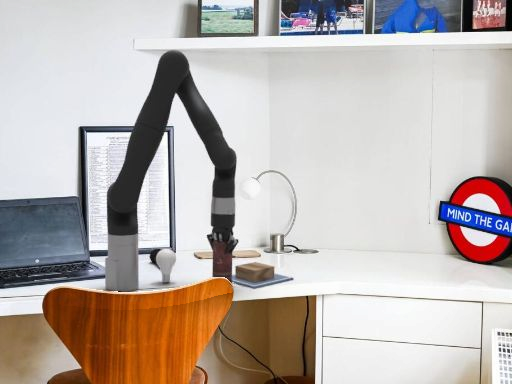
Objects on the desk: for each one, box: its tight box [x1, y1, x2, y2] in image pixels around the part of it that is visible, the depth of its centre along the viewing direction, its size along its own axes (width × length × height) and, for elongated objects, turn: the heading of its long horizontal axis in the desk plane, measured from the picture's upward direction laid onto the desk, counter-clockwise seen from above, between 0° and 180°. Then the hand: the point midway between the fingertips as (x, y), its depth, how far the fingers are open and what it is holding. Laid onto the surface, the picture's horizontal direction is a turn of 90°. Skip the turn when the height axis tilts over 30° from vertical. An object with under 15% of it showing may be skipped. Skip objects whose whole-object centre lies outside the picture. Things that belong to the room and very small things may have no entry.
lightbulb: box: [156, 248, 177, 284], centre depth 214 cm, size 6×6×11 cm
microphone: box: [148, 248, 162, 266], centre depth 236 cm, size 6×6×20 cm
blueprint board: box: [232, 272, 294, 290], centre depth 220 cm, size 18×16×1 cm
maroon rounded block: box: [211, 240, 233, 284], centre depth 209 cm, size 6×6×14 cm
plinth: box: [234, 261, 275, 283], centre depth 219 cm, size 9×9×4 cm
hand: (221, 266), depth 209 cm, fingers closed
